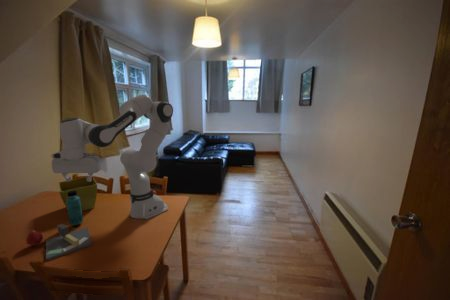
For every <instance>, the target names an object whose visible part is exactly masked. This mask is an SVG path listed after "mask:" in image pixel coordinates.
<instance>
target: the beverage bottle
mask: <svg viewBox="0 0 450 300" xmlns="http://www.w3.org/2000/svg"><path fill="white" fill-rule="evenodd" d="M75 195H77V192H76V190H72V191H69V192H68V196H69V198H68V199H67V200H66V203H67V208H66V209H67V215H68V217H67V218H68V222H69V225H70V226H78V225H80V224H82V223H83V221H84V216H83V211H82V209H81V203H80V197H78V196H75Z"/></svg>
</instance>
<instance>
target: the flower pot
mask: <svg viewBox="0 0 450 300" xmlns="http://www.w3.org/2000/svg"><path fill="white" fill-rule="evenodd" d="M88 177H89V176H85V177H79V178H75V179H71V181H70V182H66V180H64V181H59V182H58V184H57V185H58V192H59V194H60V195H59V196H60V198H61V200H62V203H63V204H64V206H65V208H66V209H67V203H66V200H67V199H68V198H69V196H68V192H69V191H72V190H76V192H77V195H75V196H78V197H80V203H81V209H82V212H83V211H86V210H90V209H94V208H95V206H96V201H97V195H98V183H97V181H96V179H95V178H94V175H93V176H92V177H91V178H92V181H90V182H87V180H86V178H88Z"/></svg>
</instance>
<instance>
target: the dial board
mask: <svg viewBox="0 0 450 300" xmlns="http://www.w3.org/2000/svg"><path fill="white" fill-rule="evenodd" d="M69 234H70V235H71V236H73V237H75V238H76V239H78V240H79V245H78V246H74V245H72V244H71V243H69V242H68V241H66V240H64V239H62V236H61V235H59V236H55V237H52V238H48V239H46V242H45V246H46V247H45V261H46V262H47V261H50V260H53V259H55V258H59V257H62V256H65V255H68V254H71V253H73V252H76V251H78V250H82V249H85V248H87V247H91V246H92V245H93V242H92V239H91V236H90V233H89V229H88V227H85V228H82V229H78V230H75V231H71V232H69Z"/></svg>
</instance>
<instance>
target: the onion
mask: <svg viewBox="0 0 450 300" xmlns="http://www.w3.org/2000/svg"><path fill="white" fill-rule="evenodd" d="M43 238H44V237H43V234H42V232H40V231H37V230H32V231H31V232H30V233H29V234H28V235H27V237H26V238H25V241H26V244H27V245H28V246H32V247H33V246H34V247H36V246H38V245H39V244H40V243H41V242H42V241H43Z"/></svg>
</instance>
